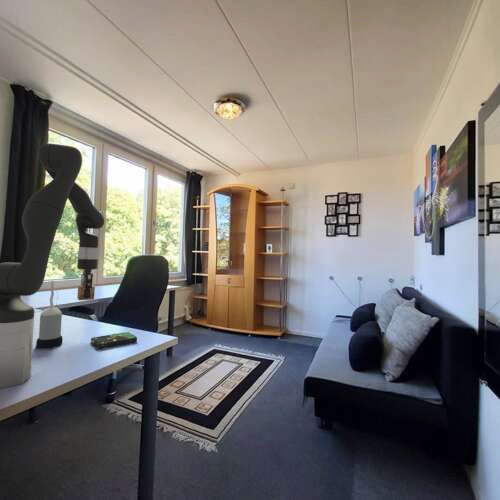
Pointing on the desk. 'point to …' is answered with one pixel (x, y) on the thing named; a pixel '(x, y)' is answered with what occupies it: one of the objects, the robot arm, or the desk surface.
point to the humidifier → (50, 326)
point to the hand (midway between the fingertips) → (85, 297)
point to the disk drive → (113, 340)
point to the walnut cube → (81, 293)
